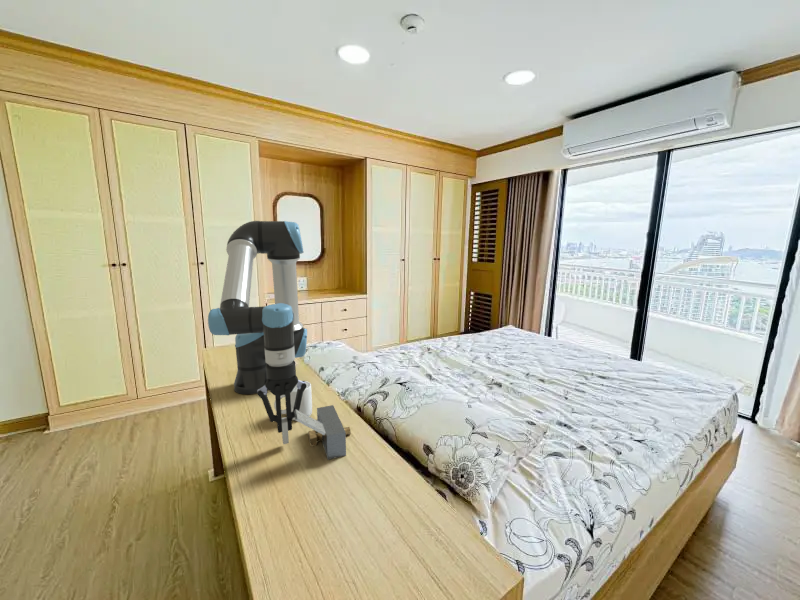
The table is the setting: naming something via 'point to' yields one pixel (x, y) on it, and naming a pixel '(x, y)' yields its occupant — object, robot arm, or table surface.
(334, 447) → the block
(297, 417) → the tab
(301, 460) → the table surface
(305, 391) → the mug
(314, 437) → the lynch pin
